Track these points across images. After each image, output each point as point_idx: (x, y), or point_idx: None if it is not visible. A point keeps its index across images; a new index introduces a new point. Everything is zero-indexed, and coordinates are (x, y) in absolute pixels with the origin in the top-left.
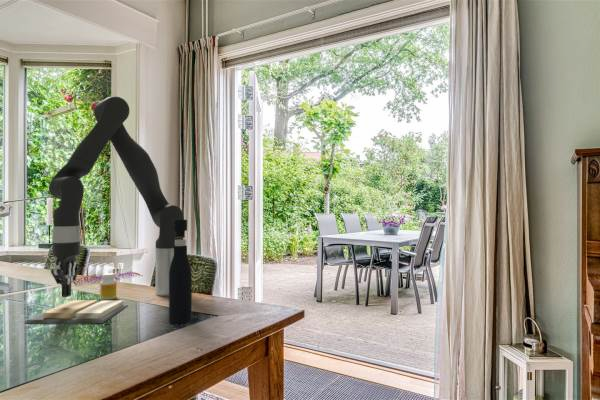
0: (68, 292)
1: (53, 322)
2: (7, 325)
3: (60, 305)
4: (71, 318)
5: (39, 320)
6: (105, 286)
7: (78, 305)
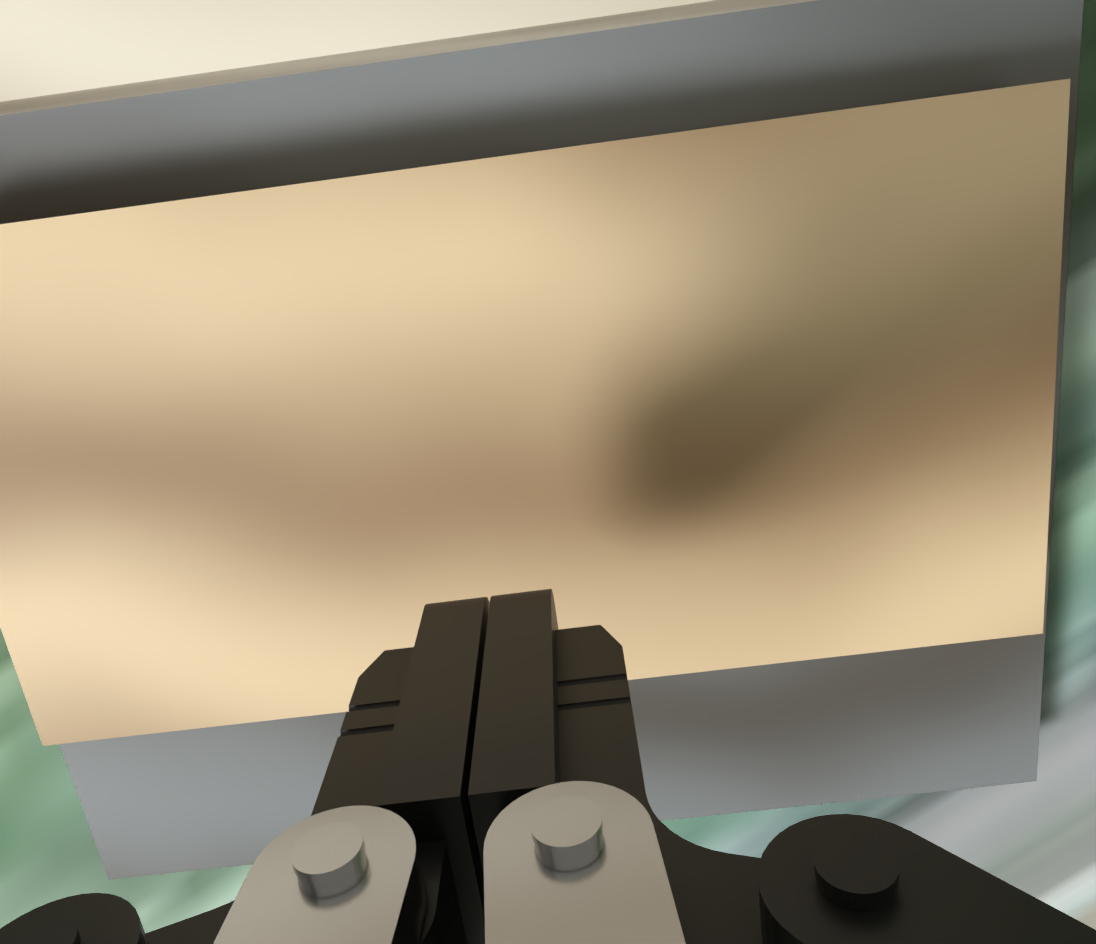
0: (553, 639)
1: None
2: (1059, 905)
3: None
4: (995, 79)
5: None
6: None
7: (414, 351)
